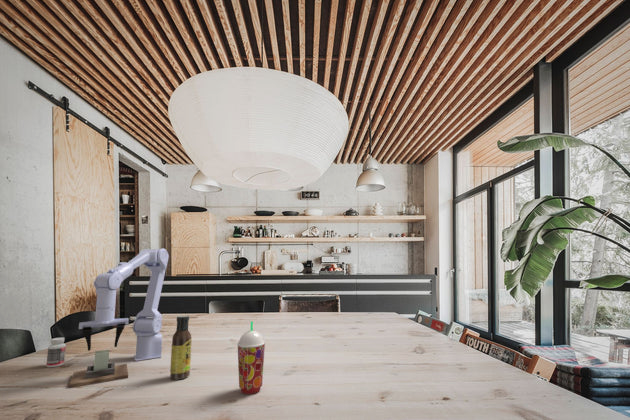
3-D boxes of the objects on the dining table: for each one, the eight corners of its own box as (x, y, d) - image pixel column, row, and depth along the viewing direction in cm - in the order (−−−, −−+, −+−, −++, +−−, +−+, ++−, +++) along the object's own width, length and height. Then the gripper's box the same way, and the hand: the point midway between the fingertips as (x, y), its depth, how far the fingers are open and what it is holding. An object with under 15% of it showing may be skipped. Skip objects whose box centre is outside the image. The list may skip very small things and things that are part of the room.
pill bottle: (63, 366, 123) (66, 339, 125) (45, 368, 120) (48, 341, 122) (64, 362, 128) (67, 336, 129) (47, 365, 125) (49, 338, 126)
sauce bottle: (188, 379, 108) (191, 317, 111) (168, 381, 106) (171, 318, 109) (191, 373, 114) (193, 314, 117) (171, 374, 113) (174, 315, 115)
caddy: (126, 366, 122) (127, 358, 122) (128, 377, 110) (128, 368, 110) (73, 375, 114) (74, 365, 114) (69, 388, 102) (69, 378, 102)
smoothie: (238, 385, 102) (240, 319, 105) (265, 384, 103) (266, 318, 106) (234, 396, 94) (235, 324, 97) (263, 395, 95) (264, 323, 97)
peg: (107, 370, 115) (109, 349, 116) (107, 373, 111) (108, 352, 112) (93, 372, 113) (95, 351, 114) (93, 376, 109) (95, 354, 110)
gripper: (79, 311, 108) (75, 354, 106) (129, 307, 115) (127, 347, 114) (81, 308, 114) (77, 349, 112) (129, 304, 121) (126, 343, 119)
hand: (102, 348), depth 113 cm, fingers open, 7 cm apart
